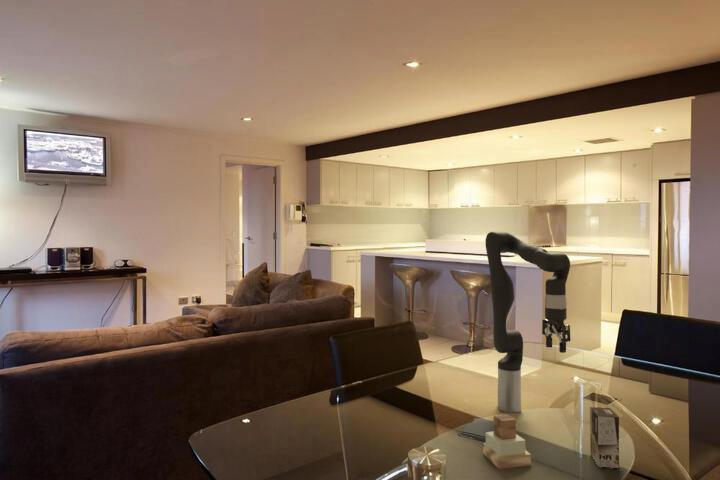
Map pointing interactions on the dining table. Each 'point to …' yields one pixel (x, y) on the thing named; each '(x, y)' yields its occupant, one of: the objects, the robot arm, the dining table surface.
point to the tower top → (505, 444)
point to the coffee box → (604, 436)
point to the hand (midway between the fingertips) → (555, 349)
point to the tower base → (507, 458)
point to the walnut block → (504, 426)
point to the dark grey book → (478, 429)
